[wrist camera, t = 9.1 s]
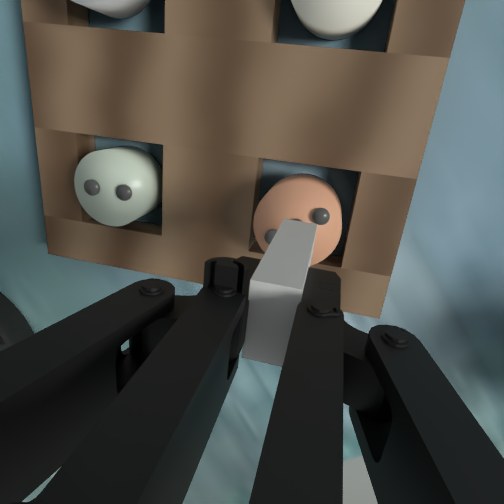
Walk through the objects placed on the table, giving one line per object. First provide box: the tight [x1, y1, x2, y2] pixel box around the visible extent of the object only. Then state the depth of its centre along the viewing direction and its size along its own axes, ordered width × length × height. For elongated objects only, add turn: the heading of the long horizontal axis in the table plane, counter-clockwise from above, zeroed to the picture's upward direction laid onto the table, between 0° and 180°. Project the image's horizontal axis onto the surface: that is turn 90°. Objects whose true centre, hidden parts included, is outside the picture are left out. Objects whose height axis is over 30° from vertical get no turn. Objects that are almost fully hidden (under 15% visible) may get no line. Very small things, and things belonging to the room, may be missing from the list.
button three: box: [253, 173, 342, 266], centre depth 22 cm, size 5×5×3 cm
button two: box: [74, 146, 163, 226], centre depth 25 cm, size 5×5×3 cm
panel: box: [21, 0, 465, 318], centre depth 22 cm, size 24×24×2 cm
